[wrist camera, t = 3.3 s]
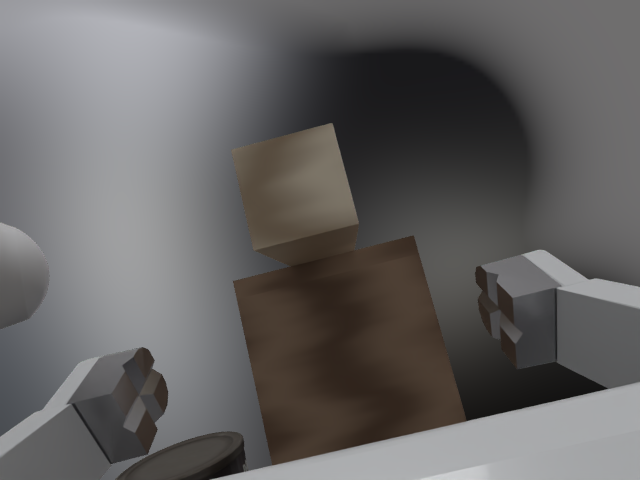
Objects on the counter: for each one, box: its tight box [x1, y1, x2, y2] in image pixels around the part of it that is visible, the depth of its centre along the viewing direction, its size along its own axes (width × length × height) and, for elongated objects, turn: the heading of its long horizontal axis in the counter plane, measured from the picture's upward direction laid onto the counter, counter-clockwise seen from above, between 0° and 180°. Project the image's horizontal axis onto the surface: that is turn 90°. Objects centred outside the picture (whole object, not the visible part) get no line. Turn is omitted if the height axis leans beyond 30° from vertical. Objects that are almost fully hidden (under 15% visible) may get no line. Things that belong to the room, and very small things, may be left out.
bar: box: [231, 123, 359, 266], centre depth 22 cm, size 4×19×4 cm, turn 176°
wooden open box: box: [233, 236, 466, 466], centre depth 26 cm, size 10×14×26 cm
